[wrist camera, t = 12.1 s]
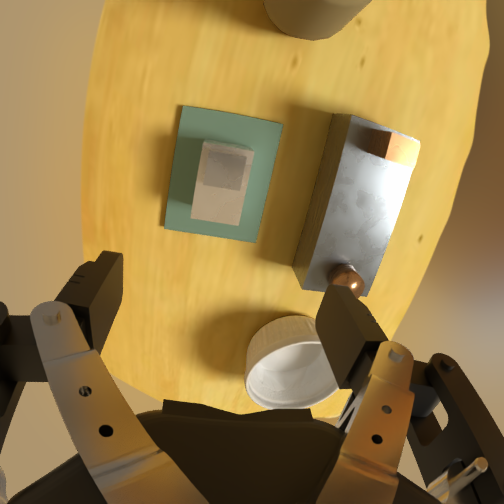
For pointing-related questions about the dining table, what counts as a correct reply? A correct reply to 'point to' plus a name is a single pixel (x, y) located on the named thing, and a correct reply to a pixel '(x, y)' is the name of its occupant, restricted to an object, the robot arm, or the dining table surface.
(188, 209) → the mat
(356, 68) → the dining table surface
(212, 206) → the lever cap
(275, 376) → the ramekin
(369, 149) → the plane body
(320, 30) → the squeeze bottle
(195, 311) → the dining table surface
